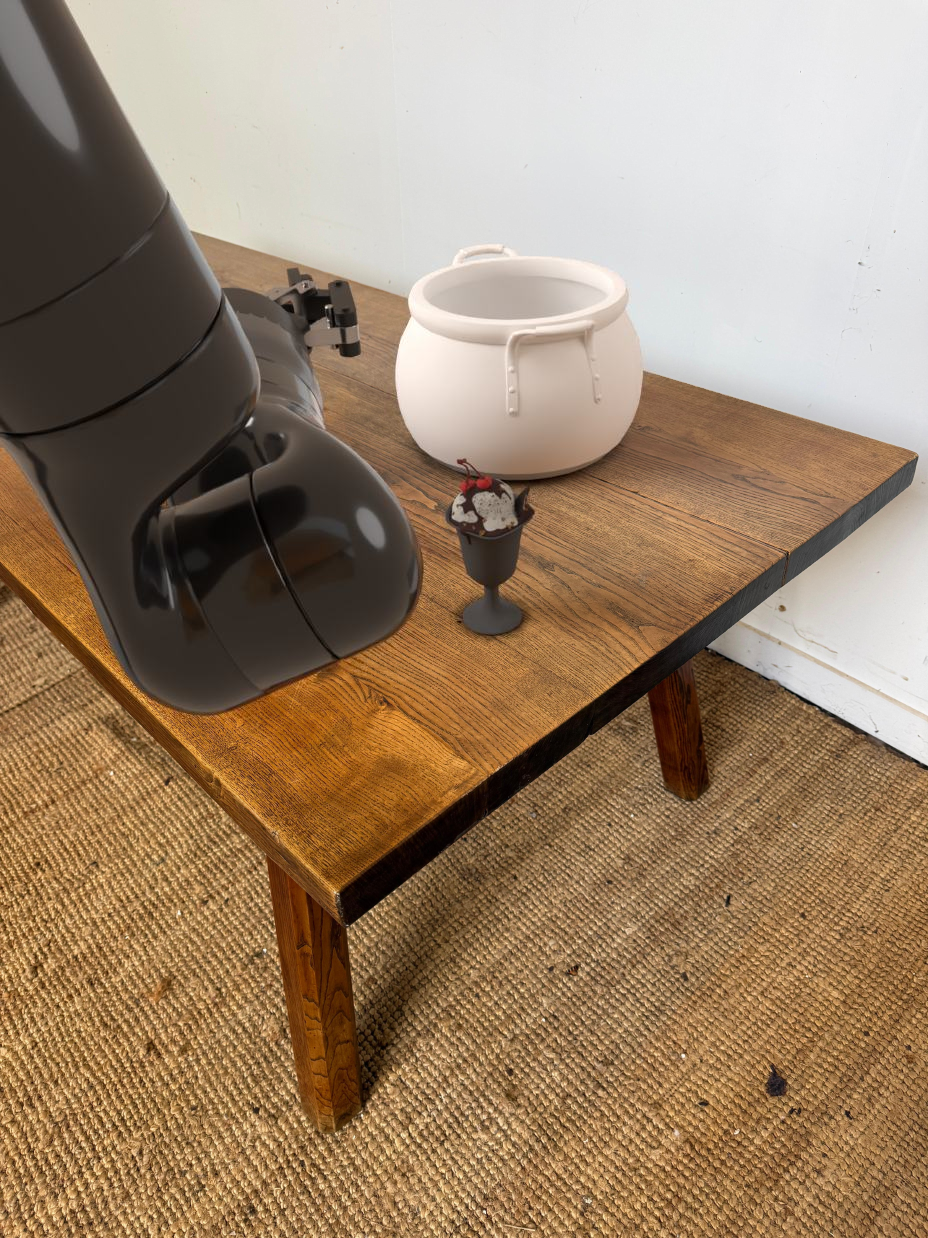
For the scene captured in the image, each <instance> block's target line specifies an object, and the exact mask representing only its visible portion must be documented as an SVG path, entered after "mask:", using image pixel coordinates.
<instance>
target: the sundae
mask: <svg viewBox="0 0 928 1238" xmlns="http://www.w3.org/2000/svg"><path fill="white" fill-rule="evenodd" d="M457 463H458V464H461V465H463V466H464V467H466V469H467V474H466V478H465V480H464V481H463V482H461V484H460V491H461V492H460V493H459V494H458V495H457V496H456V498H455V499H453V500H452V501H451V503H450V504H449V505H448V506H447V509H446V511H445V514H444V515H445V516H444V517H445V518H444V519H445V522H446V523H447V524H448V525H449V526H451V527H452V528H454V529H455V531H456V534H457V537H458V540H459V545H460V551H461V556H462V562H463V565H464V569H465V571H466V574H467V576H468V577H469V578H470V579H472V580H473V581H474V582H475V583H476V584H478V585H481V586H483V598H481V599H478V600H475V601H473V602H472V603H471V604H469V605H468V606H466V607H465V609H464V610H463V613H462V622H463V624H464V625H465V626H466V627H467V628H468V629H469V630H471V631H473V632H474V633H477V634H480V635H486V636H496V635H503V634H507V633H509V632H511V631H512V630H514V629H515V628H517V627H518V626H519V625H520V623H521V621H522V619H523V615H522V614H523V613H522V610H521V609H520V607H519V606H517V604H516V603H514V602H512V601H510V600H508V599H505V598H502V597H500V586H501V585H503V584H505V582H507V581H508V580H510V578H511V577H512V576H513V575H514V574H515V572H516V569H517V566H518V565H517V564H518V560H519V554H520V547H521V538H522V534H523V530H524V526H526V525H527V524H528V523H530V522H531V520H533V518H534V515H535V513H536V511H535V509H534V508H533V507H532V506H531V505H530V503H529V502H528V501H529V495H530V489H531V487H530V486H529V485H527V486H526V487H525V488H524V489H522V491H520V493H519V494H516V493H514V492H513V490H512V488H511V486H510V485H509V484H508V483H505V482H504V481H502V480H501V479H494V478H490V477H488V476H481V474H480V473H479V472H478V471H477V470H476V469H475V468H474V467H473V466H472V465H471V464H470V463H468V462H466V458H464V459H457ZM463 463H466V464H468V465H469V466H471V467H472V469H473V470H474V471H475V472H476V473H477V474H478V475H479V478H477V480H476V481H474V480H471V479H470V476H471V475H470V473H469V469H468V467H467V466H466V465H464V464H463Z"/></svg>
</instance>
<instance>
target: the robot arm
mask: <svg viewBox="0 0 928 1238" xmlns="http://www.w3.org/2000/svg"><path fill="white" fill-rule="evenodd" d="M210 266H211V265H209V262H208V261H207V259H206V257H205V255H204V253H203V252H202V250H201V249H200V246H199V244H198V243H197V241H196V239H195V237H194V235H193V234H192V231H191V230H190V228H189V226H188V224H187V222H186V221H185V219H184V217H183V215H182V214H181V212H180V210H179V208H178V206H177V204H176V203H175V201H174V199H173V197H172V195H171V193H170V192H169V190H168V189H167V187H166V184H165V182H164V180H163V179H162V177H161V175H160V173H159V172H158V170H157V168H156V166H155V164H154V162H153V161H152V159H151V157H150V155H149V154H148V152H147V150H146V148H145V146H144V144H143V143H142V141H141V140H140V137H139V136H138V134H137V132H136V130H135V128H134V126H133V125H132V123H131V120H130V119H129V117H128V115H127V114H126V112H125V111H124V109H123V106H122V105H121V103H120V101H119V100H118V98H117V96H116V94H115V92H114V90H113V89H112V87H111V85H110V83H109V81H108V79H107V77H106V76H105V74H104V72H103V70H102V68H101V66H100V65H99V62H98V60H97V59H96V57H95V55H94V53H93V52H92V49H91V48H90V46H89V44H88V41H87V40H86V38H85V37H84V34H83V33H82V30H81V29H80V27H79V25H78V23H77V22H76V19H75V18H74V15H73V14H72V12H71V10H70V8H69V6H68V5H67V2H66V0H0V445H1V446H2V448H4V450H5V451H6V452H7V453H8V455H9V456H10V457H11V459H12V460H13V461H14V463H15V464H16V465H17V467H18V468H19V469H20V471H21V473H22V474H23V476H24V478H25V479H26V480H27V482H28V483H29V486H30V487H31V488H32V490H33V492H34V493H35V495H36V496H37V499H38V500H39V502H40V503H41V505H42V507H43V509H44V510H45V513H46V514H47V516H48V518H49V520H50V521H51V523H52V524H53V526H54V528H55V530H56V532H57V534H58V536H59V538H60V539H61V541H62V543H63V545H64V547H65V549H66V550H67V553H68V555H69V556H70V558H71V560H72V562H73V564H74V566H75V568H76V570H77V572H78V575H79V577H80V578H81V581H82V583H83V585H84V588H85V589H86V592H87V594H88V596H89V599H90V601H91V603H92V605H93V609H94V611H95V613H96V616H97V618H98V621H99V623H100V626H101V628H102V630H103V633H104V635H105V637H106V640H107V642H108V644H109V647H110V649H111V651H112V653H113V655H114V657H115V659H116V660H117V662H118V664H119V666H120V668H121V670H122V672H123V673H124V674H125V675H126V677H127V679H129V681H130V682H131V683H132V684H133V685H134V686H135V687H136V689H137V690H139V692H141V693H142V694H143V695H145V696H146V697H147V698H148V699H150V700H152V701H154V702H155V703H156V704H159V705H160V706H162V707H165V708H167V709H169V710H173V711H176V712H178V713H182V714H186V715H191V716H200V717H211V716H218V715H222V714H226V713H231V712H233V711H236V710H239V709H240V708H242V707H245V706H248V705H250V704H252V703H254V702H256V701H258V700H260V699H264V698H265V697H268V696H269V695H271V694H274V693H276V692H277V691H280V690H282V689H284V688H286V687H289V686H291V685H293V684H295V683H298V682H300V681H302V680H305V679H307V678H309V677H310V676H313V675H316V674H318V673H320V672H323V671H325V670H327V669H329V668H331V667H333V666H336V665H339V664H340V663H342V661H343V660H344V661H347V660H349V659H351V658H354V657H356V656H358V655H361V654H363V653H365V652H367V651H370V650H371V649H374V648H376V647H377V646H379V645H381V644H382V645H383V643H385V642H386V641H388V640H390V639H391V638H393V637H394V636H395V635H396V634H398V632H400V631H401V630H402V629H403V628H404V627H405V626H406V624H408V622H409V620H410V619H411V618H412V616H413V613H414V612H415V610H416V607H417V606H418V602H419V600H420V596H421V593H422V591H423V590H422V589H423V584H424V583H423V581H424V574H425V573H424V572H425V570H424V568H425V567H424V558H423V552H422V548H421V543H420V541H419V538H418V534H417V531H416V530H415V528H414V525H413V523H412V521H411V519H410V518H409V515H408V512H407V511H406V509H405V507H404V506H403V504H402V502H400V500H399V498H398V496H396V494H395V493H394V492H393V490H392V488H391V487H390V486H389V485H388V483H387V482H386V481H385V480H384V478H382V476H380V474H379V473H378V472H377V471H376V470H375V469H374V468H373V467H372V466H371V465H370V464H369V463H368V462H367V461H366V460H365V459H364V458H363V457H362V456H361V455H360V454H358V453H357V452H356V451H355V450H354V449H353V448H352V447H350V445H348V444H346V443H345V442H344V441H343V440H341V439H339V438H338V437H337V436H335V435H334V434H332V433H331V432H330V431H328V428H327V424H326V422H325V415H324V413H325V412H324V400H323V395H322V390H321V387H320V384H319V381H318V378H317V374H316V372H315V368H314V365H313V362H312V360H311V356H310V355H311V354H312V352H313V349H314V348H316V347H317V348H318V347H325V346H326V347H327V346H329V348H330V349H331V350H333V351H336V350H338V352H339V356H340V357H343V358H349V359H350V358H355V357H358V356H360V355H361V354H362V347H361V338H360V328H359V322H358V321H359V320H358V312H357V307H356V304H355V300H354V297H353V293H352V290H351V287H350V283H349V281H347V280H343V279H335V280H333V281H330V282H329V283H327V288H326V289H324V288H319V287H318V284H317V282H316V281H314V279H313V277H312V275H310V274H309V273H304V274H301V272H300V269H299V267H292V268H286V276H287V280H288V286H280V285H276V286H274V287H272V288H270V289H268V290H267V291H264V292H263V293H259V292H257V291H253V290H250V289H246V288H241V287H221V284H220V283H219V281H218V279H217V277H216V276H215V274H214V271H213V270H212V268H211V267H210ZM164 503H166V505H167V506H166V507H167V508H165V507H162V505H164Z"/></svg>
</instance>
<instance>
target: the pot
mask: <svg viewBox="0 0 928 1238" xmlns="http://www.w3.org/2000/svg"><path fill="white" fill-rule="evenodd" d="M487 254H489V255H490V254H496V255H502V254H505V255H507V256H499V257H490V258H482V259H474V260H469V261H465V262H463V261H464V260H465V259H468V258H470V257H474V256H478V255H487ZM629 295H630V292H629V289H628V286H627V284H626V281H625V280H624V278H622V276H621V275H619V273H617V272H615V271H613V270H611V269H609V268H608V267H604V266H603V265H599V264H597V263H592V262H588V261H585V260H580V259H573V258H566V257H557V256H543V255H542V256H541V255H539V256H538V255H521V254H520V253H518V252H517V251H516V250H515V249H514V248H511V247H507V246H505V245H504V244H503V243H487V244H478V245H470V246H467V247H464V248H461V249H459V250H458V253H457V254H455V256H454V258H453V262H452V264H451V265H449V266H446V267H443V268H439V269H436V270H435V271H432V272H430V273H427V274H426V275H425V276H423V277H421V278H420V279H419V280H417V281H416V282H415V284H413V286H412V287H411V289H410V292H409V295H408V298H407V304H408V310H409V313H410V315H411V316H410V318H409V320H408V323H407V325H406V327H405V328H404V331H403V332H402V335H401V337H400V340H399V344H398V349H397V354H396V355H397V356H396V361H395V374H394V375H395V378H394V380H395V381H394V382H395V389H396V397H397V402H398V408H399V411H400V414H401V416H402V419H403V421H404V424H405V427H406V429H407V430H408V432H409V434H410V435H411V436H412V439H413V440H414V442H416V444H417V445H418V447H419V448H420V449H421V450H422V451H424V452H425V453H426V454H427V455H429V456H430V457H431V458H432V459H433V460H435V461H436V462H437V463H439V464H440V465H442V466H445V467H446V468H449V469H451V470H452V471H455V472H459V473H462V474H466V475H467V469H466V467H464V466H463V465H461V464H458V463H457V459H464V458H466V462H468V463H470V464H471V465H472V466H473V467H474V468H475V469H476V470H477V471H478V472H479V473H480V474H481V476H488V477H490V478H494V479H498V480H500V481H502V480H504V481H529V480H539V479H547V478H553V477H557V476H562V475H566V474H567V475H568V474H571V473H573V472H577V471H579V470H582V469H584V468H586V467H589V466H591V465H593V464H595V463H596V462H598V461H600V460H601V459H602V458H603V457H605V456H606V455H607V454H608V453H610V452H611V451H612V450H613V449H614V448H615V447H616V446H618V445H619V444H620V442H621V441H622V439H623V438H624V436H625V435H626V433H627V432H628V430H629V428H630V427H631V425H632V423H633V421H634V418H635V416H636V414H637V410H638V407H639V404H640V400H641V396H642V395H641V394H642V388H643V379H644V363H643V362H644V361H643V359H644V358H643V353H642V348H641V343H640V338H639V335H638V332H637V329H636V328H635V325H634V324H633V322H632V320H631V318H630V316H629V314H628V312H627V310H626V308H627V306H628V302H629ZM463 464H464V465H466V466H467V467H468V469H469V473H470V475H469V476H473V477H479V475H478V474H477V473H476V472H475V471H474V470H473V469H472V467H471V466H469V465H468V464H466V463H463ZM479 478H480V477H479Z"/></svg>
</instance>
